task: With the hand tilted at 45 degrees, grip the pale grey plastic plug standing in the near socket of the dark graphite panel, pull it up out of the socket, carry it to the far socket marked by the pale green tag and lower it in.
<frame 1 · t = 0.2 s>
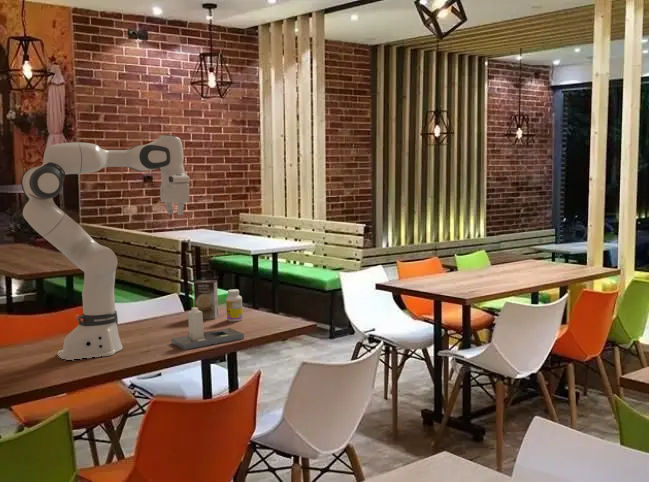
hand: (175, 214, 269), 47 cm above the table, tool pointing down, fingers open, 8 cm apart
panel: (208, 341, 266), on the table
supplement bottle: (235, 320, 299), on the table
coffee box: (207, 318, 306), on the table
plug: (196, 343, 263), resting in panel
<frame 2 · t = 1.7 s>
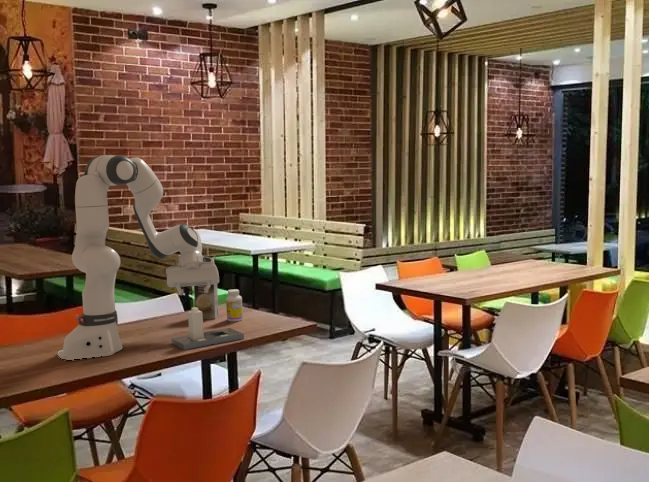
hand: (194, 293, 273), 17 cm above the table, tool tilted 45°, fingers open, 8 cm apart
nothing on the table moved.
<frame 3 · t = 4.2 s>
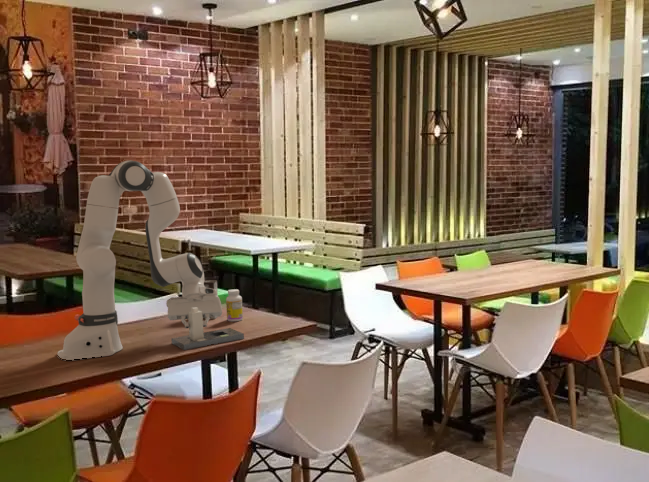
hand: (195, 326, 262), 6 cm above the table, tool tilted 45°, fingers closed on plug, 5 cm apart
plug: (196, 343, 263), resting in panel, touching gripper
everything else where it was.
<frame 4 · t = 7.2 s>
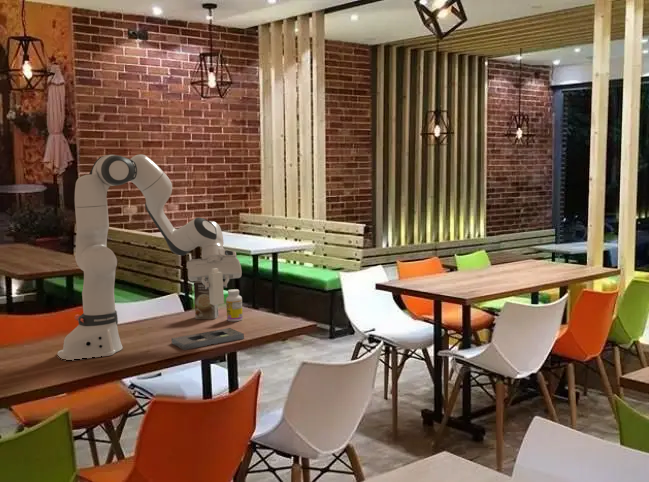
hand: (216, 287, 265), 20 cm above the table, tool tilted 45°, fingers closed on plug, 5 cm apart
plug: (217, 303, 266), point 14 cm above the table, touching gripper
everything else where it was.
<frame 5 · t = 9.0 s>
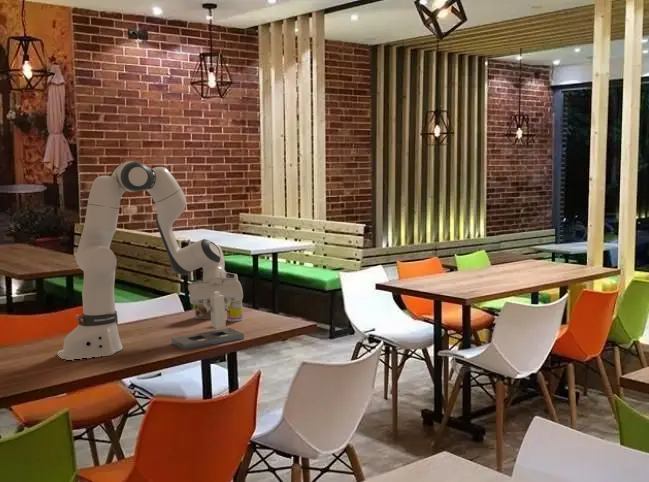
hand: (217, 310, 266), 11 cm above the table, tool tilted 45°, fingers closed on plug, 5 cm apart
plug: (218, 326, 268), point 5 cm above the table, touching gripper
everything else where it was.
when the fingers open (8 cm above the table, at t = 10.3 s): plug drops 1 cm, resting in panel.
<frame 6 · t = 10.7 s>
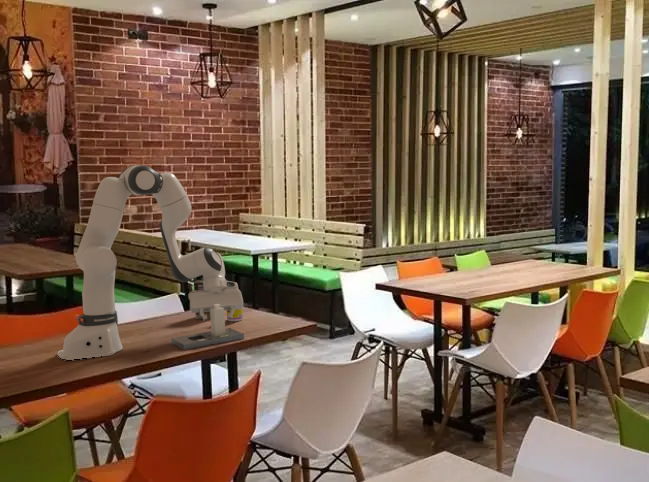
hand: (217, 319, 266), 8 cm above the table, tool tilted 45°, fingers open, 8 cm apart
plug: (218, 339, 268), resting in panel
everything else where it was.
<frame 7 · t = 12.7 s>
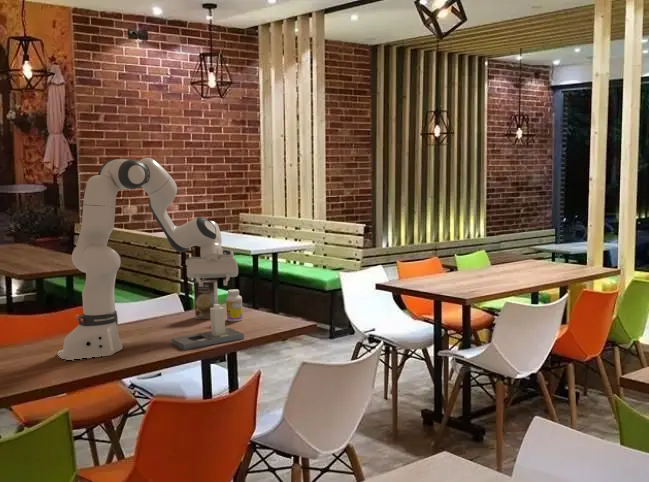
hand: (213, 285, 277), 19 cm above the table, tool tilted 45°, fingers open, 8 cm apart
nothing on the table moved.
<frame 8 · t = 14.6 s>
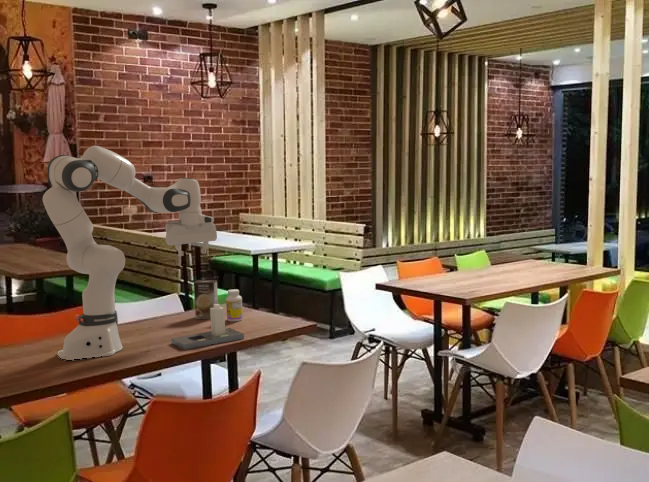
hand: (192, 254, 277), 31 cm above the table, tool pointing down, fingers open, 8 cm apart
nothing on the table moved.
at the end: plug 0.1 cm from the target spot on the panel, point 0.0 cm above the panel's base; plug tilted 0°; the gripper is holding nothing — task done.
